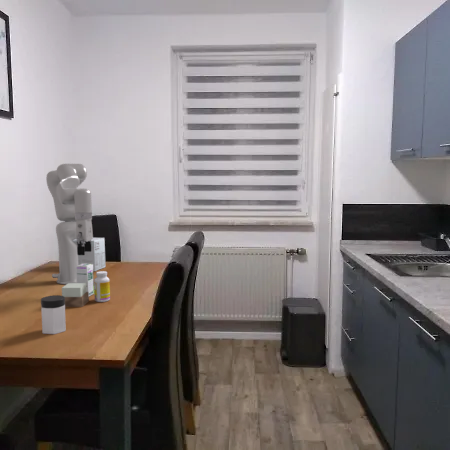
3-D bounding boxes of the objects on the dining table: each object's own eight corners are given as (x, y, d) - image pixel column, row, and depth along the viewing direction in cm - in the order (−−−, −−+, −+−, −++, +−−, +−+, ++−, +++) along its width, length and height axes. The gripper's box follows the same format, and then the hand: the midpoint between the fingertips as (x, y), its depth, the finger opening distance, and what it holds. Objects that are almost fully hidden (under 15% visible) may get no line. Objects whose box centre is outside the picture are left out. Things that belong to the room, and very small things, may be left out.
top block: (62, 296, 196) (61, 287, 195) (68, 292, 204) (68, 283, 203) (80, 297, 195) (80, 287, 195) (86, 292, 203) (86, 283, 203)
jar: (59, 324, 172) (58, 293, 171) (71, 329, 167) (70, 297, 166) (36, 331, 166) (35, 298, 164) (48, 336, 160) (47, 302, 159)
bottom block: (61, 307, 196) (60, 297, 195) (68, 301, 205) (68, 291, 204) (82, 307, 196) (81, 297, 195) (88, 301, 205) (88, 291, 204)
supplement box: (106, 267, 278) (105, 237, 275) (95, 271, 265) (94, 240, 263) (80, 265, 281) (79, 236, 279) (68, 270, 269) (67, 239, 267)
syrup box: (88, 297, 211) (87, 266, 209) (76, 296, 212) (75, 265, 210) (94, 293, 216) (93, 263, 215) (83, 293, 217) (82, 263, 216)
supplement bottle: (113, 299, 208) (112, 271, 206) (104, 303, 201) (103, 274, 200) (100, 297, 210) (99, 270, 208) (91, 301, 203) (90, 273, 202)
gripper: (85, 218, 201) (86, 256, 203) (97, 214, 218) (98, 250, 220) (68, 218, 201) (69, 256, 203) (81, 214, 219) (82, 250, 220)
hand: (84, 253), depth 212 cm, fingers open, 9 cm apart
